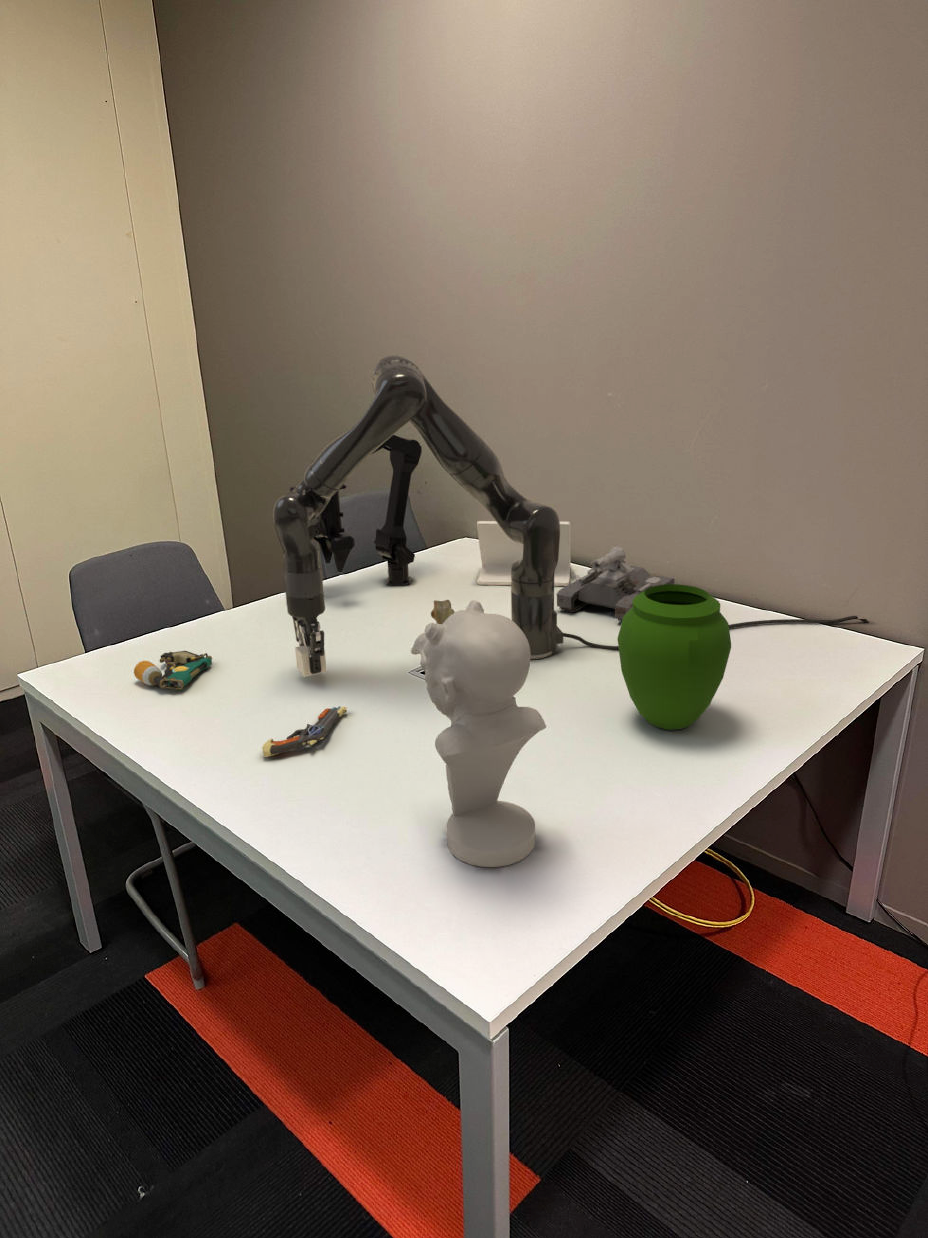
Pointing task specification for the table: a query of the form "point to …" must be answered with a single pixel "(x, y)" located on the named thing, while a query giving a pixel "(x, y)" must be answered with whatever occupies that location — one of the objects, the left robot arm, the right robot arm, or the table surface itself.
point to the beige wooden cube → (307, 661)
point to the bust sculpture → (481, 729)
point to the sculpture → (441, 611)
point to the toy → (609, 585)
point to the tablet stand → (514, 555)
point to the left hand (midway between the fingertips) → (333, 567)
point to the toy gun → (305, 733)
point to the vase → (673, 653)
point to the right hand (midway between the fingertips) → (311, 667)
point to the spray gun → (172, 669)
